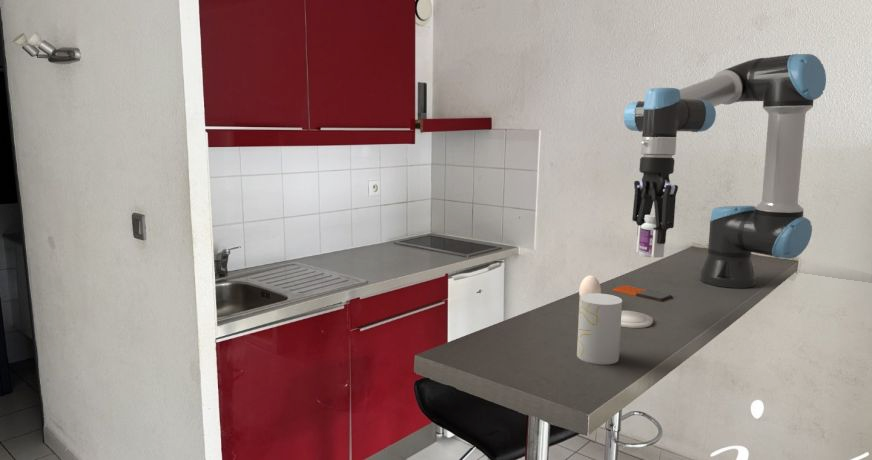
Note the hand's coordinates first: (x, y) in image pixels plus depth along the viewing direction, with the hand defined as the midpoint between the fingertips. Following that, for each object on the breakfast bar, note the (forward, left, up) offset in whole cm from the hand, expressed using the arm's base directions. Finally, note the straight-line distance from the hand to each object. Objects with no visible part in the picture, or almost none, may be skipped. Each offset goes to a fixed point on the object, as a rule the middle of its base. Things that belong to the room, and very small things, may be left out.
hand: (649, 254), depth 143 cm
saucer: (+5, +1, -16) cm, 17 cm away
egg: (+8, -13, -16) cm, 22 cm away
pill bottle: (0, 0, 0) cm, 1 cm away
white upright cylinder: (+24, +20, -16) cm, 35 cm away
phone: (-12, -19, -17) cm, 28 cm away
